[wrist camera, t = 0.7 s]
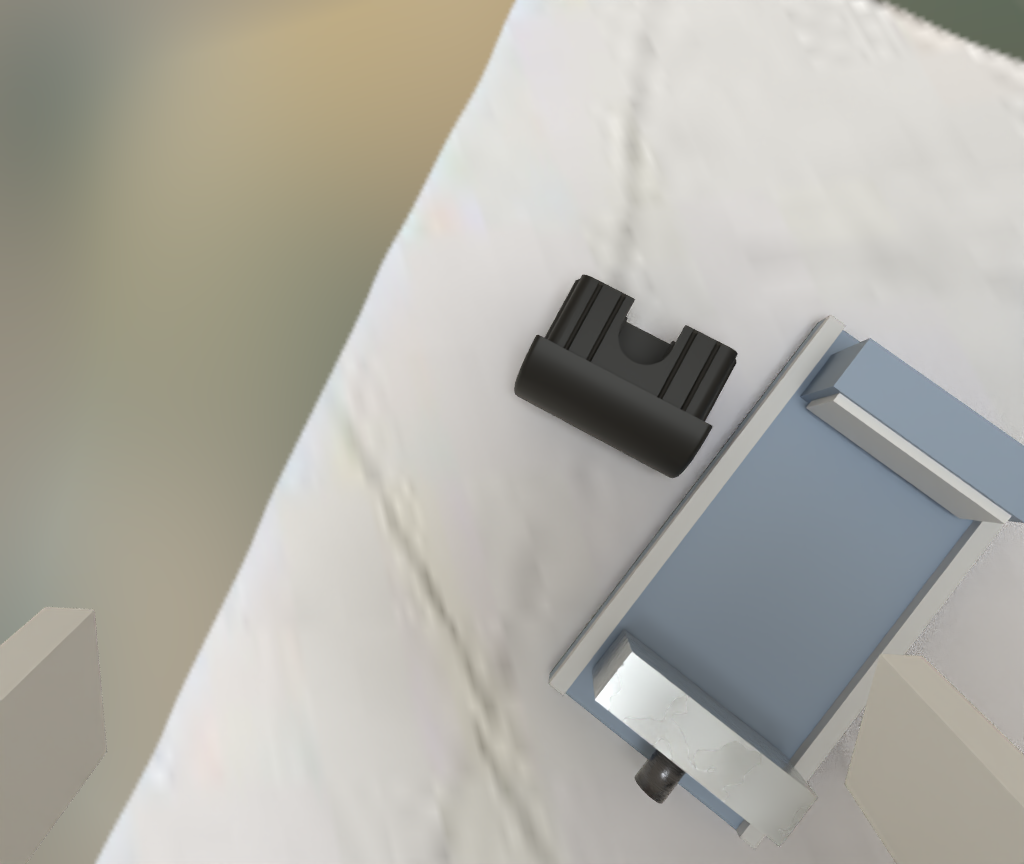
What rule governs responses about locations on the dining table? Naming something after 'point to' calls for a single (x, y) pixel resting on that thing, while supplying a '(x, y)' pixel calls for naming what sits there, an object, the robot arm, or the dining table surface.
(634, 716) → the block
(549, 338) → the end cap
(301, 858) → the dining table surface
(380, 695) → the dining table surface
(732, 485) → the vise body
